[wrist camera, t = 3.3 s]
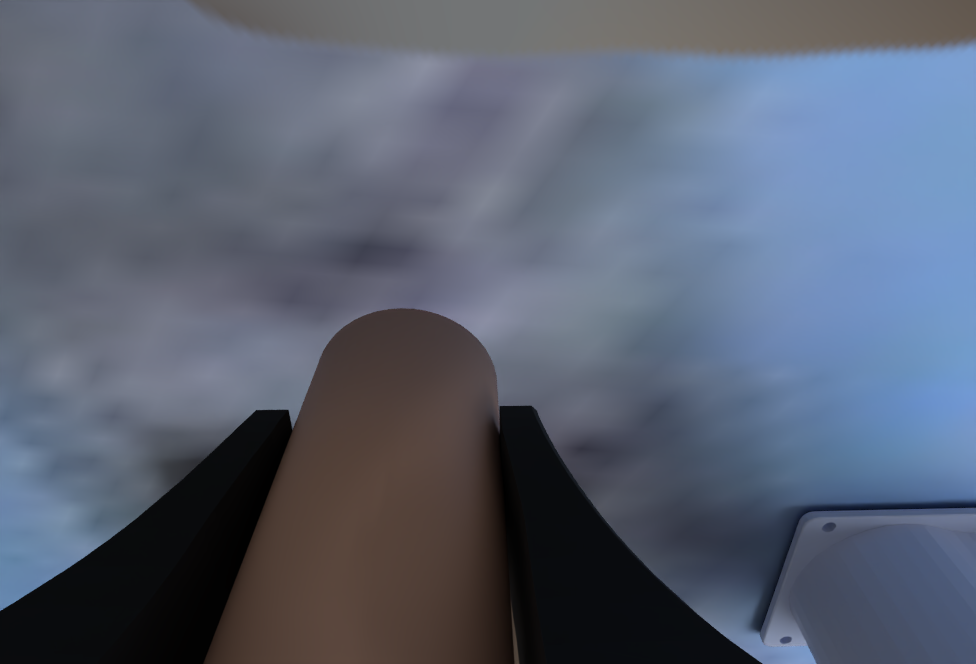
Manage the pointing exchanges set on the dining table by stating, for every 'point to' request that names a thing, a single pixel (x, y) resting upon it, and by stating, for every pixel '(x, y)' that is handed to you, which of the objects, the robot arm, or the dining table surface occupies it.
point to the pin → (382, 511)
